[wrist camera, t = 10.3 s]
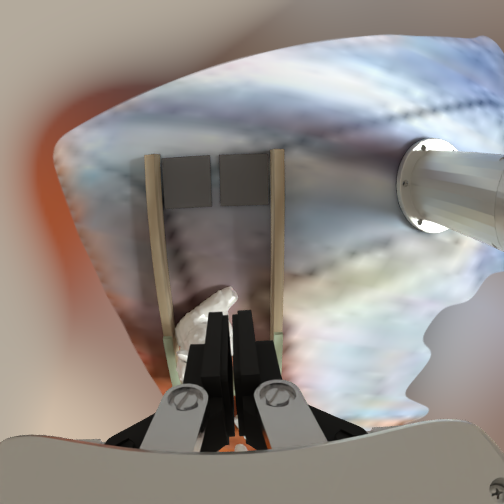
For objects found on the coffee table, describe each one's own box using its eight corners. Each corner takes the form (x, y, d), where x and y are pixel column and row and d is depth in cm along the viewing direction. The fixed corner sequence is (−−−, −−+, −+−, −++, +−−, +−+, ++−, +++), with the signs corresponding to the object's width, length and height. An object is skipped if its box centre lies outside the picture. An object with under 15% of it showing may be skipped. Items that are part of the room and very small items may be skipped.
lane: (279, 150, 32) (286, 148, 28) (276, 373, 41) (280, 392, 37) (151, 155, 31) (141, 155, 27) (177, 377, 40) (174, 396, 36)
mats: (267, 154, 32) (267, 153, 32) (267, 204, 34) (268, 204, 33) (162, 158, 31) (162, 158, 31) (165, 208, 33) (164, 209, 33)
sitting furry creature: (252, 346, 39) (262, 411, 28) (189, 359, 39) (181, 424, 28) (234, 282, 36) (239, 338, 25) (166, 298, 36) (144, 356, 25)
